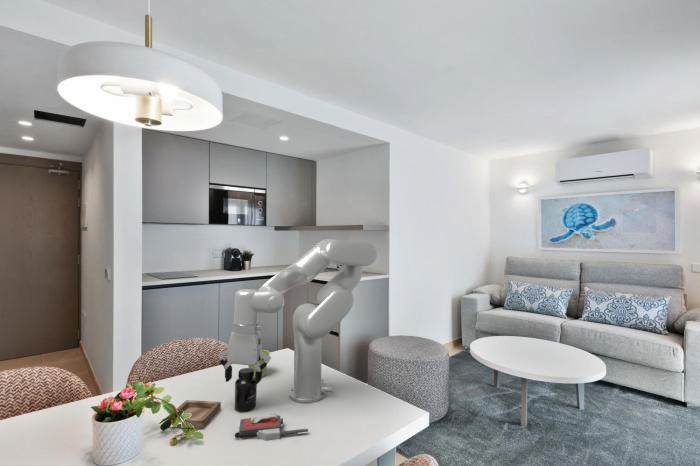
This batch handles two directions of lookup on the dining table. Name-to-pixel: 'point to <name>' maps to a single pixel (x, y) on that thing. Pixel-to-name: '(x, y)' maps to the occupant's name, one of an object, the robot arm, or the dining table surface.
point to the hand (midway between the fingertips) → (243, 381)
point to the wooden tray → (199, 412)
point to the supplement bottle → (245, 390)
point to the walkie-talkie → (264, 428)
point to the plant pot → (262, 363)
